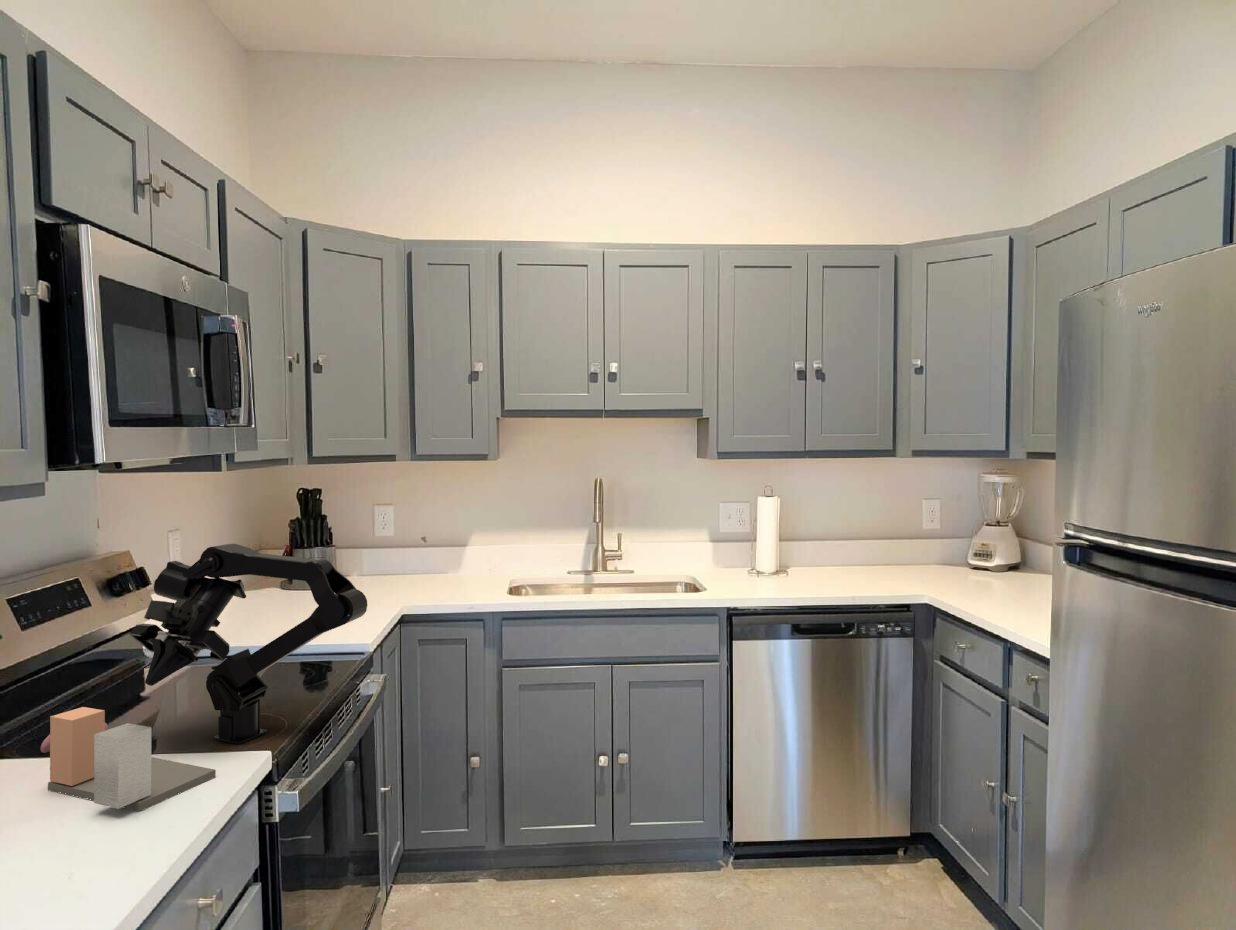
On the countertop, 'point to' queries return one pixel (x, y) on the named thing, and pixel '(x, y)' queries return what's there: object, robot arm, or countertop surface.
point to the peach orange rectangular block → (74, 744)
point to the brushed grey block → (122, 765)
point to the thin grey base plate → (164, 783)
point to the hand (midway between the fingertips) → (148, 684)
